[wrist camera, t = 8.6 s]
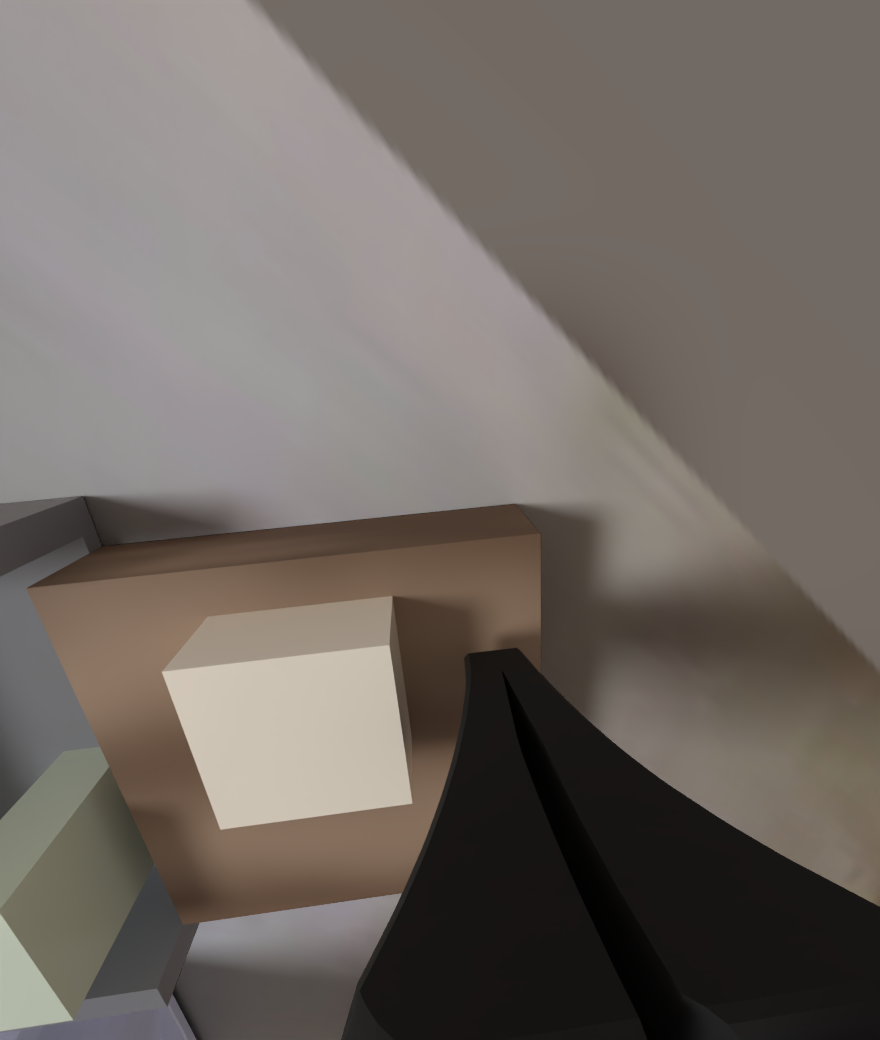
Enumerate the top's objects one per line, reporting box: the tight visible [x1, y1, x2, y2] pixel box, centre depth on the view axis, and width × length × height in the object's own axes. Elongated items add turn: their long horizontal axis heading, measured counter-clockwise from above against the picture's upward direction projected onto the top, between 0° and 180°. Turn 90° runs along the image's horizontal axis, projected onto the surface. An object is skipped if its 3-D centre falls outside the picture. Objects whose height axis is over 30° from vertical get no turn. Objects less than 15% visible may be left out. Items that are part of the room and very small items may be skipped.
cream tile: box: [162, 596, 413, 830], centre depth 10 cm, size 4×4×2 cm
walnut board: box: [26, 504, 541, 925], centre depth 13 cm, size 12×12×2 cm
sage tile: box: [0, 747, 154, 1031], centre depth 12 cm, size 4×4×2 cm
